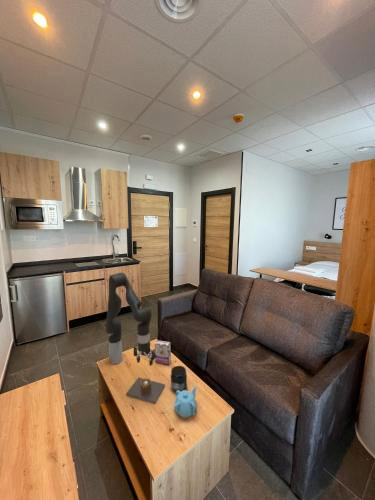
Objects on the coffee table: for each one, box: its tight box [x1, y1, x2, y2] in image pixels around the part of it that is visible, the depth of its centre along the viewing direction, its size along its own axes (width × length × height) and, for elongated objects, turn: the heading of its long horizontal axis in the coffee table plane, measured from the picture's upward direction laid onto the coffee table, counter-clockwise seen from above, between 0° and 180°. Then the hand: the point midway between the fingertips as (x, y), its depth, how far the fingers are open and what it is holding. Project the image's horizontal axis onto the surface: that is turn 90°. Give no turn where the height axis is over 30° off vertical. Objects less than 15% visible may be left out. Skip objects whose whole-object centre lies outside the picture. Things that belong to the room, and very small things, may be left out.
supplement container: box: [170, 365, 188, 393], centre depth 135 cm, size 10×10×12 cm
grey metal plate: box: [125, 377, 166, 405], centre depth 133 cm, size 20×14×6 cm
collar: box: [141, 378, 152, 393], centre depth 133 cm, size 6×6×4 cm
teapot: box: [173, 384, 198, 420], centre depth 119 cm, size 13×14×11 cm
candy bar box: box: [154, 339, 172, 366], centre depth 159 cm, size 11×5×16 cm, turn 73°
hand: (144, 363), depth 131 cm, fingers open, 8 cm apart
